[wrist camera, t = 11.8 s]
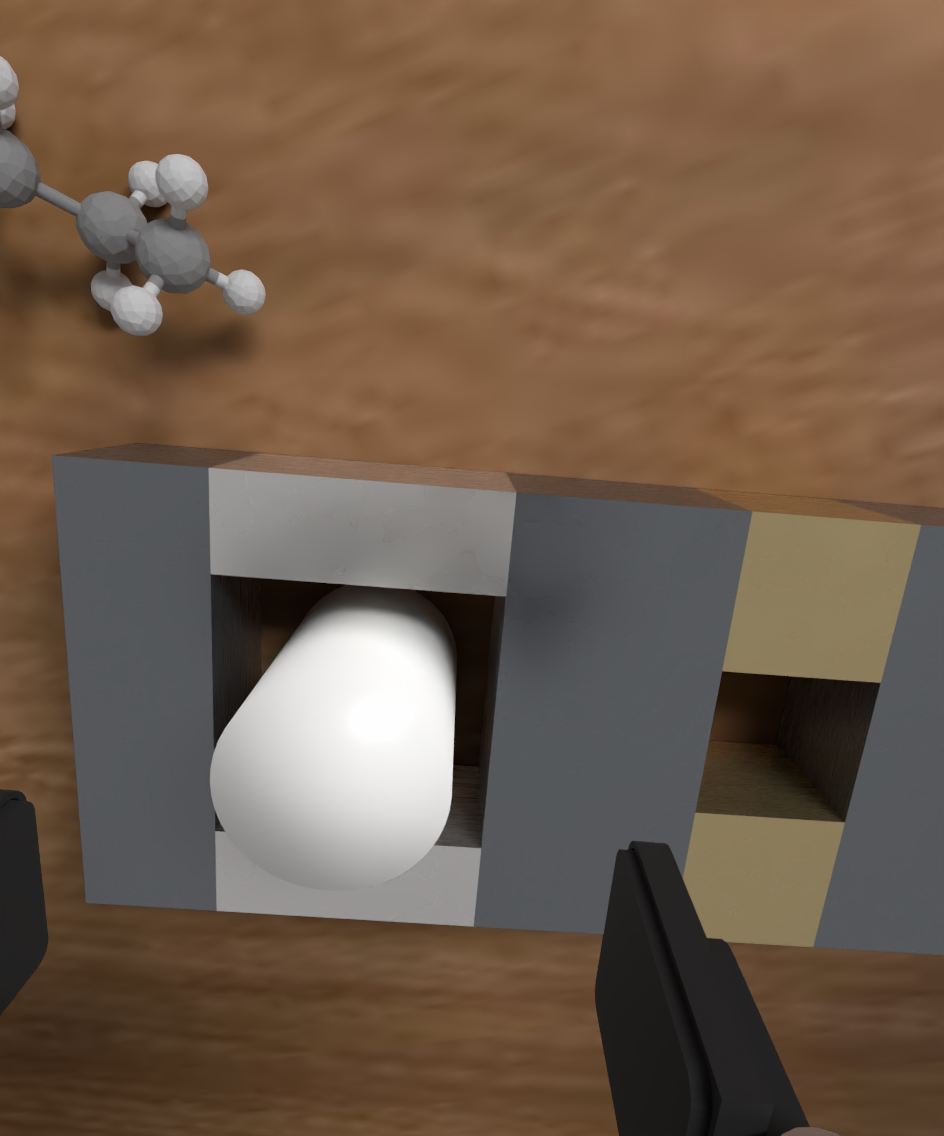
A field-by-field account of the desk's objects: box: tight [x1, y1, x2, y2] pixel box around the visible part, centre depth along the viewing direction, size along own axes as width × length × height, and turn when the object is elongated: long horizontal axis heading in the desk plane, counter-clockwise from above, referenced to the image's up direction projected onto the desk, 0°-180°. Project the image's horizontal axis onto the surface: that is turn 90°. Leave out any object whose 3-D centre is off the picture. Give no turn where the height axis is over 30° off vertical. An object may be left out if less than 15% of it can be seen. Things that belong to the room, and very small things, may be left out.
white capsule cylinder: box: [210, 585, 457, 891], centre depth 17 cm, size 5×5×7 cm
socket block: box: [52, 443, 944, 955], centre depth 19 cm, size 12×24×4 cm, turn 85°
